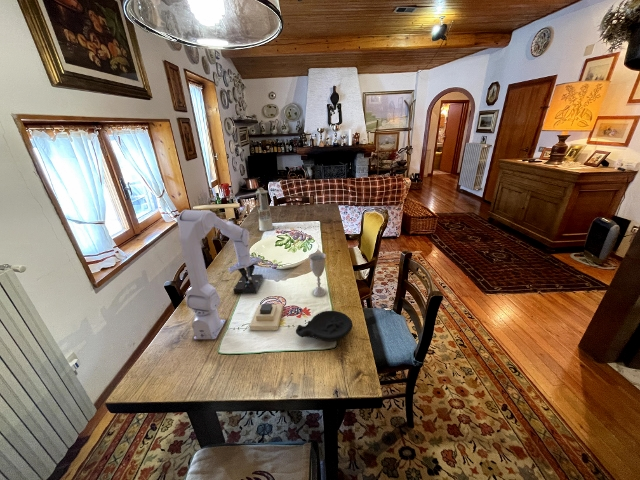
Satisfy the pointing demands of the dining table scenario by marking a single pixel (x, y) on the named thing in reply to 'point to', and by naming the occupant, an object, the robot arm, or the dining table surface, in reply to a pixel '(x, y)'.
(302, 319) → the dining table surface
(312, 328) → the oil lamp
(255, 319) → the stepped cream base
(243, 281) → the browning panel
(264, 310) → the switch
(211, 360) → the dining table surface
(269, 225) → the lamp
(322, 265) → the chalice
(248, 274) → the dial
